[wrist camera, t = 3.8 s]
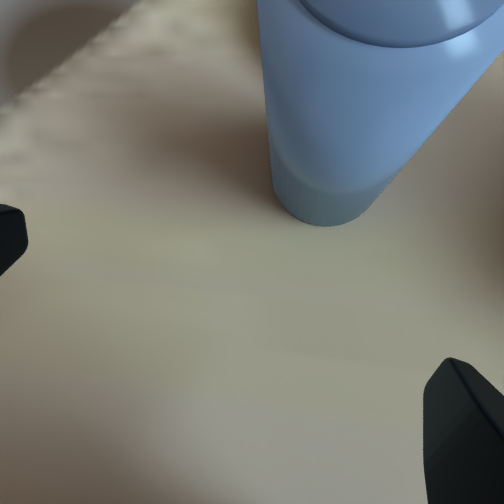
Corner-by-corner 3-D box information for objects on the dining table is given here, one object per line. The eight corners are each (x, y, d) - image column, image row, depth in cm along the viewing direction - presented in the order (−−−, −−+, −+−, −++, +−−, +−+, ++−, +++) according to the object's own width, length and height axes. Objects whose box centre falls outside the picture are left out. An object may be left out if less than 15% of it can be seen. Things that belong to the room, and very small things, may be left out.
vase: (323, 249, 20) (403, 130, 6) (249, 171, 20) (190, -74, 7) (404, 176, 20) (641, -83, 7) (328, 101, 21) (407, -258, 7)
